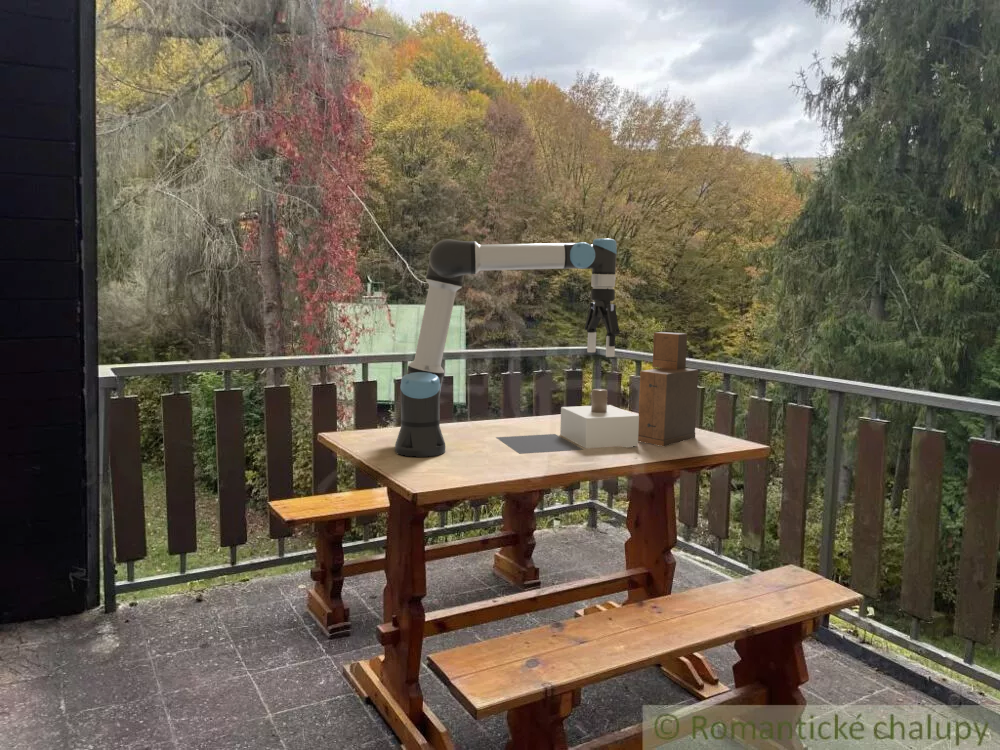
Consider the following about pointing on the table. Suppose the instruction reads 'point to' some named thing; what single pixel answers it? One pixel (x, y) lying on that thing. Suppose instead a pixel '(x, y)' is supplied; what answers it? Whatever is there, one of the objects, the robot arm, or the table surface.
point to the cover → (599, 424)
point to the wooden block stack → (668, 393)
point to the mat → (538, 443)
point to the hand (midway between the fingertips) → (600, 354)
